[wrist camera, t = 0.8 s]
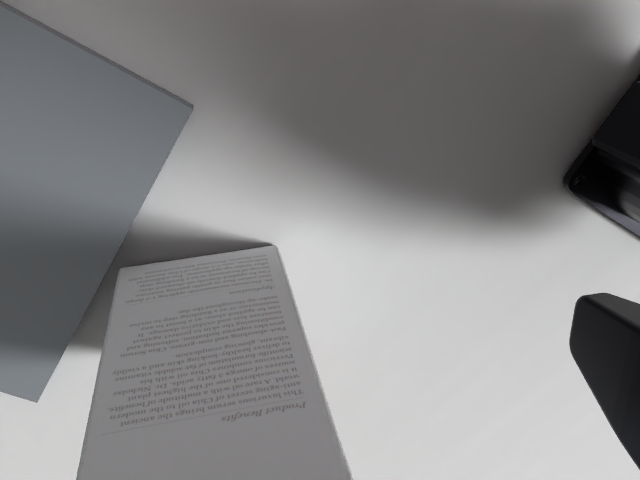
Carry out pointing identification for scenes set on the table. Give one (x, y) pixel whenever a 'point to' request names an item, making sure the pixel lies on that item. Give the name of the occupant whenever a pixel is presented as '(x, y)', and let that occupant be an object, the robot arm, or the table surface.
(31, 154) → the mat
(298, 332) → the skincare box
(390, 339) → the table surface
